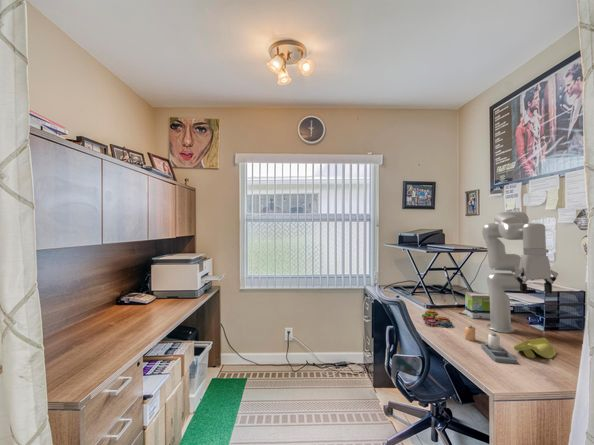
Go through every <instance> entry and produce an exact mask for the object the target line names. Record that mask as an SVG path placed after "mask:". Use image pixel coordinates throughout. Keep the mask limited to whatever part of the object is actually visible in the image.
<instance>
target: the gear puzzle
mask: <svg viewBox="0 0 594 445" xmlns="http://www.w3.org/2000/svg"><path fill="white" fill-rule="evenodd" d="M421 317H422V320H423V322H424V324H425V326H426V327H429V328H431V327H434V328H448V329H454V328H455V325H454V324H453V322H452V320H451V319H450V318H449V317H447V316H445V315H439V313H438V312H437V311H436V310H432V309H428V310H426V311H425V312H424V314H421Z"/></svg>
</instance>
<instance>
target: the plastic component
mask: <svg viewBox="0 0 594 445" xmlns="http://www.w3.org/2000/svg"><path fill="white" fill-rule="evenodd" d="M512 348H513V349H514V350H515V351H518V352H523V354H524V356H525V357H527V358H531V359H534V358H535V359H536V355H535V353H536V354H537V355H538V356H540V357H543V358H544V359H552V358H554V357H555V356H556V355H557V353H556V350H555V349H554V347H553V346H552V345H551V343H550V342H549V341H548V339H547V338H545V337H541V338H540V337H539V338H535V339H528V340H524V341H521V342H518V343H517V344H515V345H513V346H512Z"/></svg>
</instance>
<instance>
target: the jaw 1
mask: <svg viewBox="0 0 594 445" xmlns="http://www.w3.org/2000/svg"><path fill="white" fill-rule="evenodd" d="M464 334H465V335H464V336H465V338H464V339H465V340H466V341H469V342H475V341H476V328H475V327H474V326H473V325H466V326H464Z"/></svg>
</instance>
